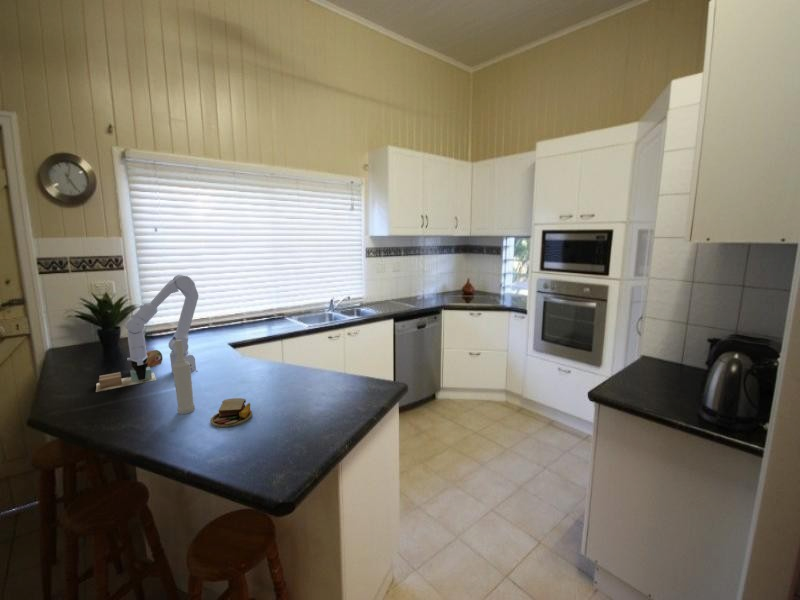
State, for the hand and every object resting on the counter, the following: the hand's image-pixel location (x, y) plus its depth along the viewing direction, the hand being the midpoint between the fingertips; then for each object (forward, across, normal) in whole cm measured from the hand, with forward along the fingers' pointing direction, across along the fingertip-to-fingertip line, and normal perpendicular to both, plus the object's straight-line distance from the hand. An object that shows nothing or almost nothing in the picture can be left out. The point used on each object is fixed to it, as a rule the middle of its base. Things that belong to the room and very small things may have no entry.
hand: (141, 377), depth 160 cm
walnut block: (+1, -1, -10) cm, 10 cm away
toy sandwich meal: (+2, +63, +21) cm, 66 cm away
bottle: (+2, +47, +10) cm, 48 cm away
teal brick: (+1, 0, 0) cm, 1 cm away
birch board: (+2, 0, -5) cm, 5 cm away
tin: (+2, -17, +3) cm, 17 cm away
